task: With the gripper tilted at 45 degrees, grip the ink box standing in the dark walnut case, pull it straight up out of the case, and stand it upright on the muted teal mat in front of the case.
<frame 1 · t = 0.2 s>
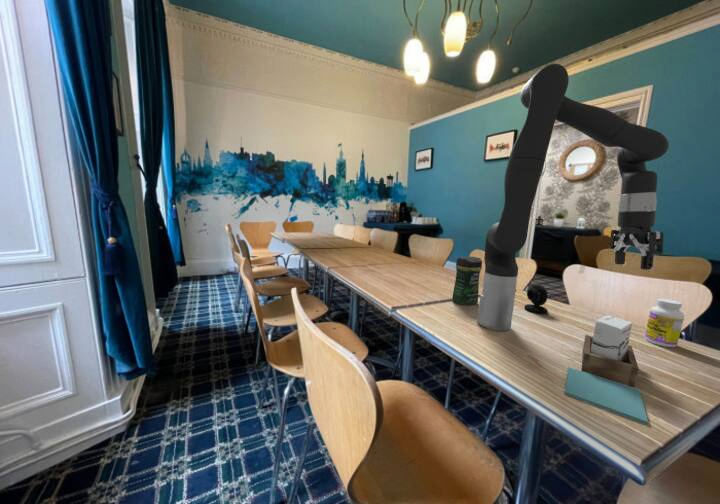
hand: (632, 266, 80), 22 cm above the table, tool pointing down, fingers open, 8 cm apart
ink box: (605, 367, 68), resting in walnut case
walnut case: (605, 366, 68), on the table
coffee jar: (465, 302, 111), on the table
teal mat: (601, 393, 58), on the table
supplement bottle: (659, 343, 82), on the table
webcam: (535, 311, 105), on the table
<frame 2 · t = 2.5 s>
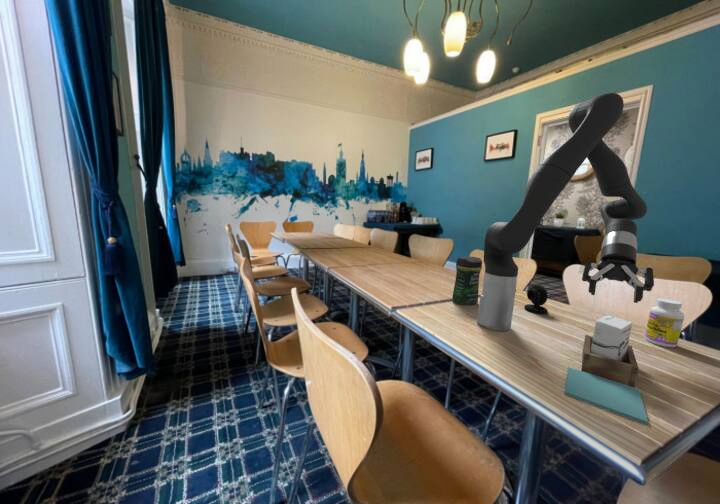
hand: (614, 297, 73), 15 cm above the table, tool tilted 45°, fingers open, 8 cm apart
nothing on the table moved.
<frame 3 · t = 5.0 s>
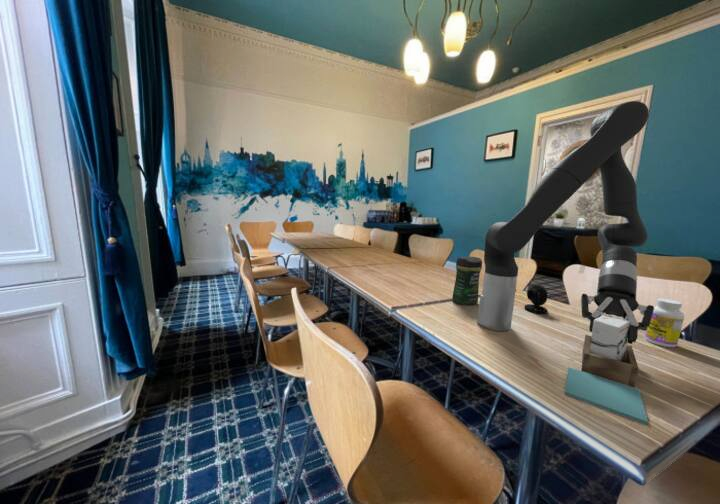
hand: (611, 337, 67), 7 cm above the table, tool tilted 45°, fingers closed on ink box, 6 cm apart
ink box: (605, 367, 68), resting in walnut case, touching gripper
everything else where it was.
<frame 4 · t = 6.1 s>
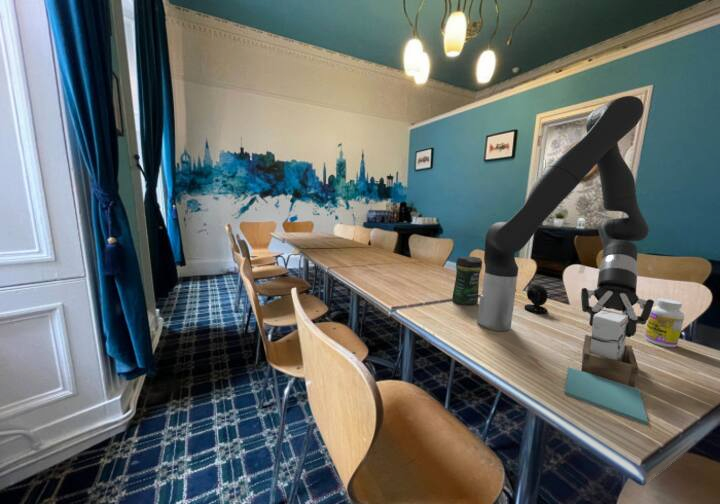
hand: (611, 331, 67), 9 cm above the table, tool tilted 45°, fingers closed on ink box, 5 cm apart
ink box: (605, 362, 68), point 1 cm above the table, touching gripper
everything else where it was.
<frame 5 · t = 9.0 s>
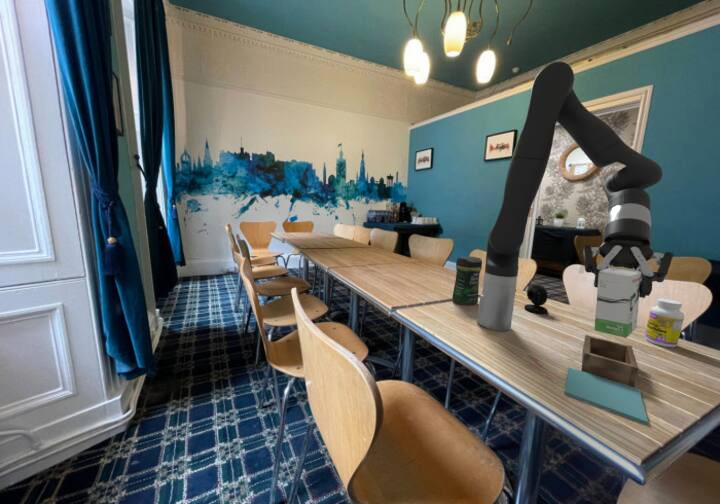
hand: (621, 291, 55), 22 cm above the table, tool tilted 45°, fingers closed on ink box, 5 cm apart
ink box: (615, 330, 55), point 14 cm above the table, touching gripper
everything else where it was.
when the fingers open (9 cm above the table, at t = 11.7 s): ink box drops 1 cm, resting on teal mat.
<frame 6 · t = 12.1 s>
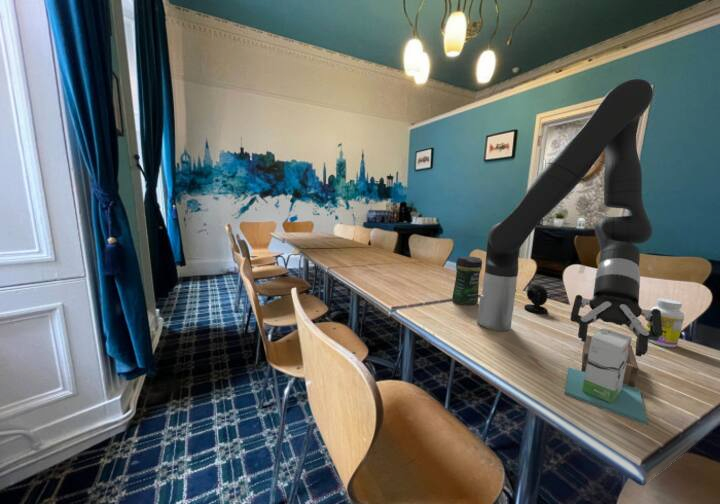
hand: (610, 347, 57), 10 cm above the table, tool tilted 45°, fingers open, 8 cm apart
ink box: (601, 390, 58), resting on teal mat
everything else where it was.
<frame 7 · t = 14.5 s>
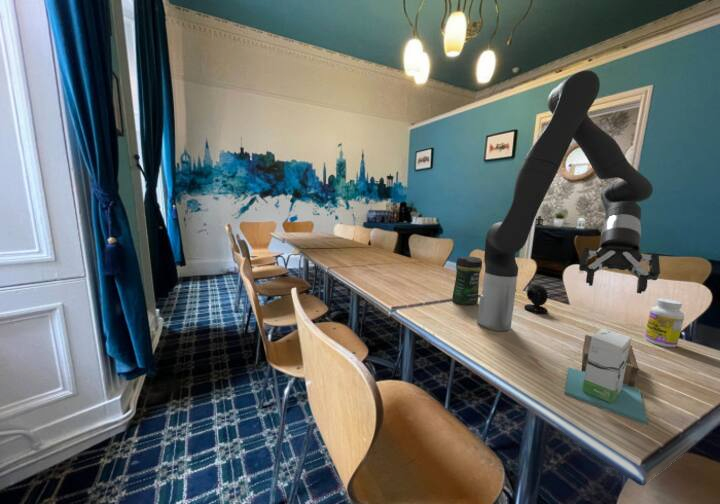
hand: (614, 287, 65), 20 cm above the table, tool tilted 45°, fingers open, 8 cm apart
nothing on the table moved.
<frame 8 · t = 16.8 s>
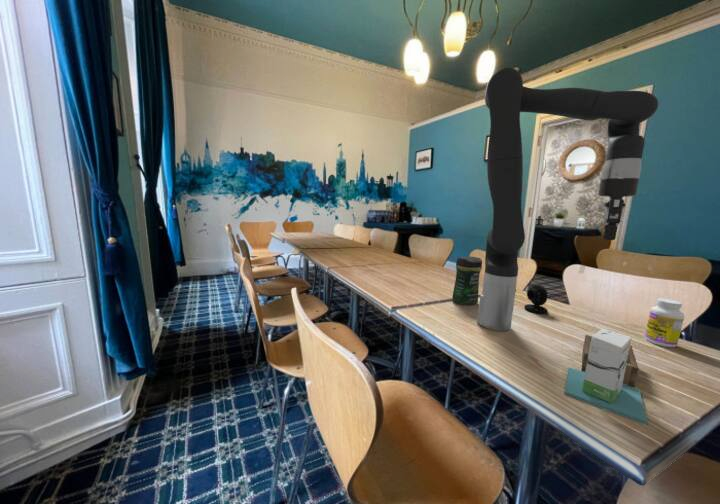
hand: (608, 238, 76), 30 cm above the table, tool pointing down, fingers open, 8 cm apart
nothing on the table moved.
at the end: ink box inside the target area on the teal mat (0.3 cm from its centre), point 0.4 cm above the teal mat's base; ink box tilted 0°; the gripper is holding nothing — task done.
